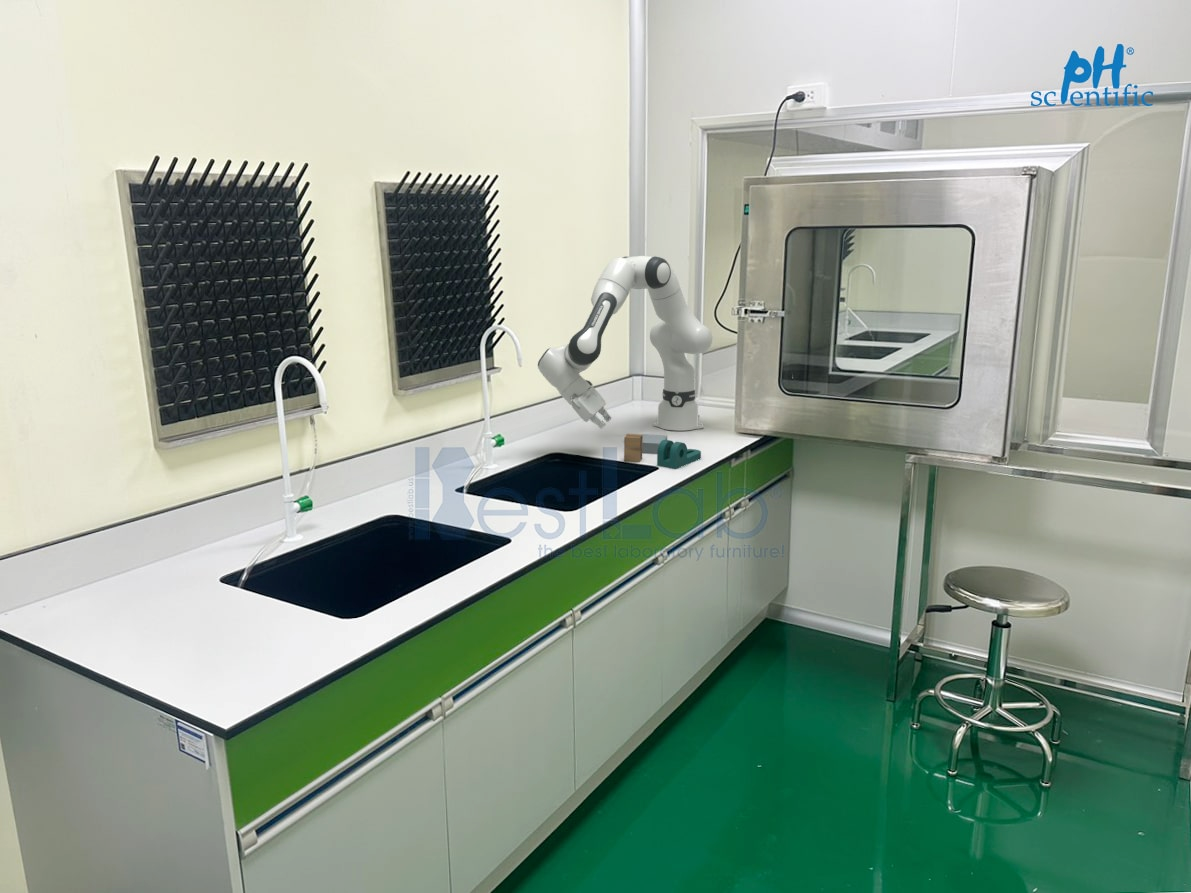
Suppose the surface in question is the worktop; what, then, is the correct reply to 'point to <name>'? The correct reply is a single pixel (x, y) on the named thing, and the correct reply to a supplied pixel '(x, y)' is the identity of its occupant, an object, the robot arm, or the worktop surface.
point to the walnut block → (633, 447)
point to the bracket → (675, 454)
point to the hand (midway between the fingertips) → (606, 423)
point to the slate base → (651, 443)
